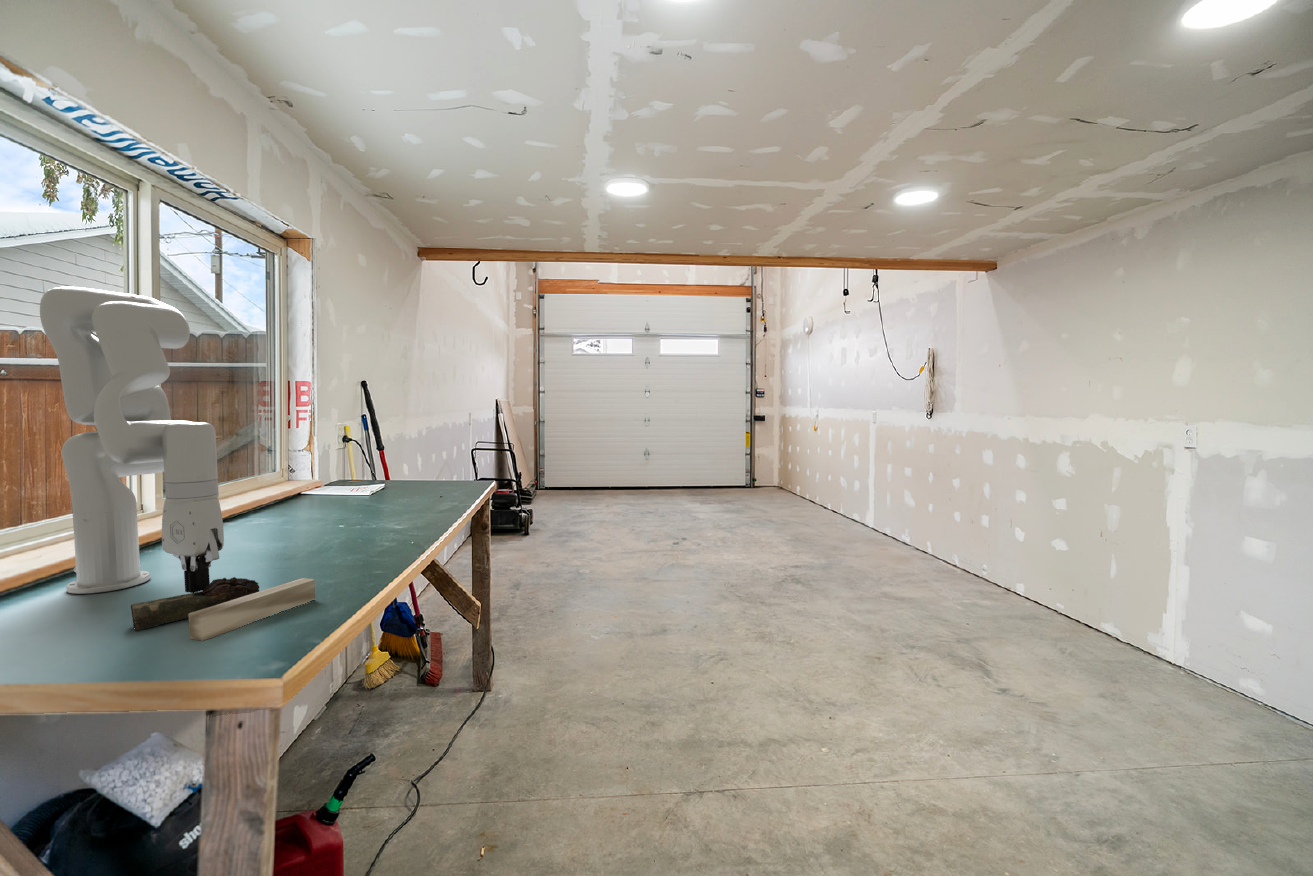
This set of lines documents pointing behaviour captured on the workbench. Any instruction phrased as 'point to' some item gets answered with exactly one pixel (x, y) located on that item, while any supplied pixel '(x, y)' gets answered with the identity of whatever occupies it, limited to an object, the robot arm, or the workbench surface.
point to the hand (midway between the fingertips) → (197, 590)
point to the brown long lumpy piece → (190, 602)
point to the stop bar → (249, 608)
